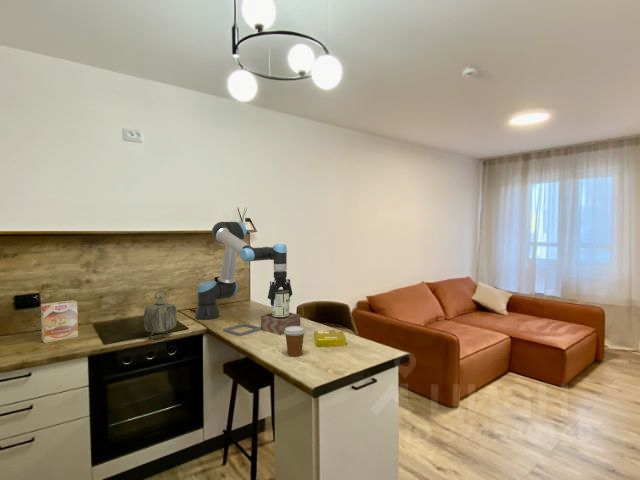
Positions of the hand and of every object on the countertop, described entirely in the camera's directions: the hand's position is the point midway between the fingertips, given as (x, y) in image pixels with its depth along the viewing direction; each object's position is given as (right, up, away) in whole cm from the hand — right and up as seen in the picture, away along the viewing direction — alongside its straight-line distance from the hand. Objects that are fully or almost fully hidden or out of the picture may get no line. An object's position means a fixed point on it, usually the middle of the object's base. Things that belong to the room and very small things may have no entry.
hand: (280, 309), depth 203 cm
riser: (0, -12, 0) cm, 12 cm away
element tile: (+28, -13, -23) cm, 38 cm away
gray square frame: (-22, -12, -2) cm, 25 cm away
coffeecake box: (-116, -13, -15) cm, 118 cm away
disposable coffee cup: (+11, -13, -41) cm, 44 cm away
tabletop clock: (-63, -13, -13) cm, 65 cm away
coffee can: (0, -4, 0) cm, 4 cm away
